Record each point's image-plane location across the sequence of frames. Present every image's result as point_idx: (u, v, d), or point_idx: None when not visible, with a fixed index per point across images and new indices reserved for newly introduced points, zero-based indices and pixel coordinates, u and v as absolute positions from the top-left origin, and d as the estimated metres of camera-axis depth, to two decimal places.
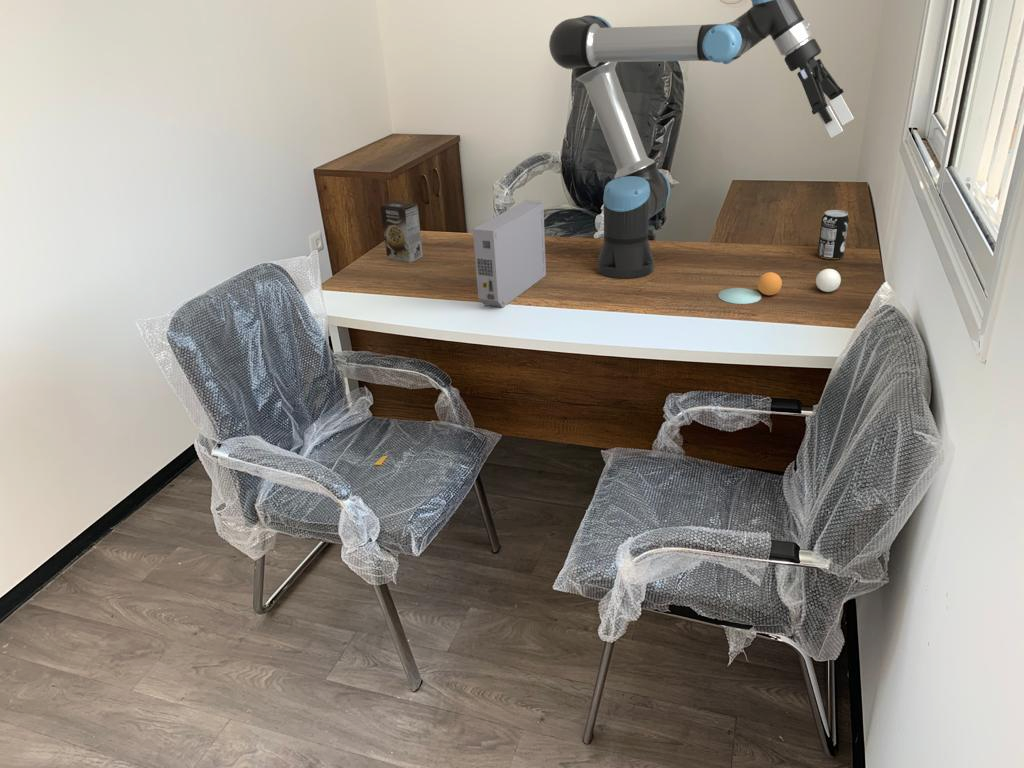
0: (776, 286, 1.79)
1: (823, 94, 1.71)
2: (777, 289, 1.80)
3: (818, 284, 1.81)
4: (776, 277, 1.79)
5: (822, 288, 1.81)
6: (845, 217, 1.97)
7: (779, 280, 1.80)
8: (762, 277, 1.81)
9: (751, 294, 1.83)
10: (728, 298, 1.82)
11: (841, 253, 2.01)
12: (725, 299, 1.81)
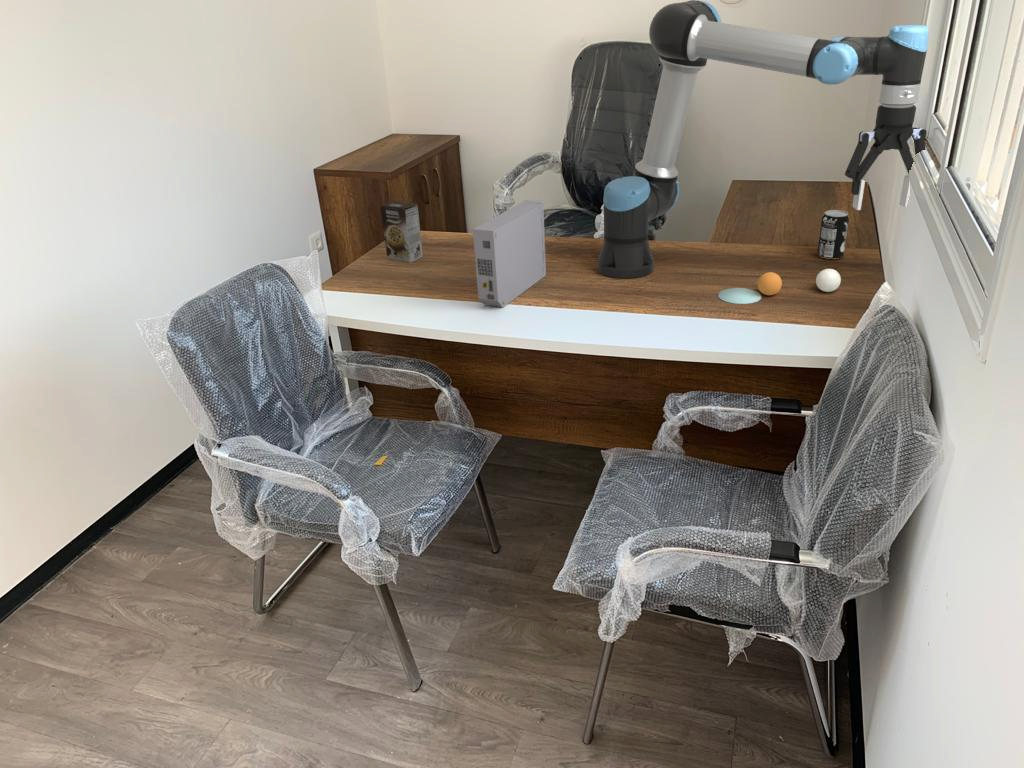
0: (776, 286, 1.79)
1: (868, 167, 1.68)
2: (777, 289, 1.80)
3: (818, 284, 1.81)
4: (776, 277, 1.79)
5: (822, 288, 1.81)
6: (845, 217, 1.97)
7: (779, 280, 1.80)
8: (762, 277, 1.81)
9: (751, 294, 1.83)
10: (728, 298, 1.82)
11: (841, 253, 2.01)
12: (725, 299, 1.81)
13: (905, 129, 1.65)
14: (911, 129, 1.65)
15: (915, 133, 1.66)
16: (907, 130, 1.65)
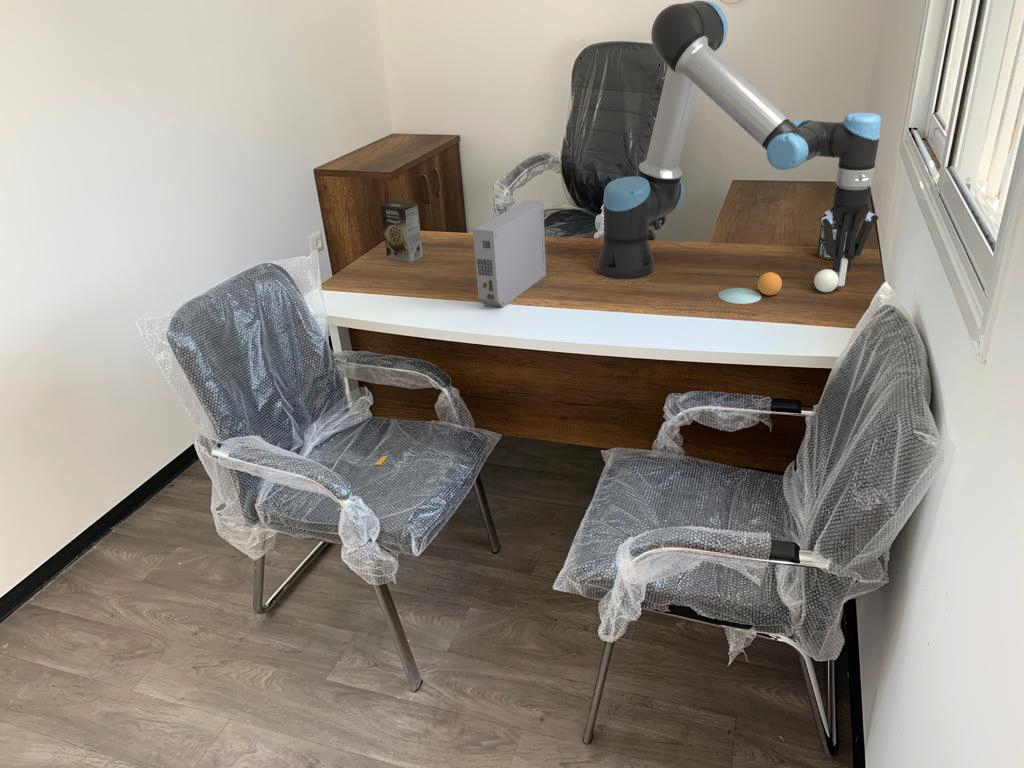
0: (776, 286, 1.79)
1: (842, 245, 1.77)
2: (777, 289, 1.80)
3: (816, 286, 1.82)
4: (776, 277, 1.79)
5: (821, 289, 1.81)
6: None
7: (779, 280, 1.80)
8: (762, 277, 1.81)
9: (751, 294, 1.83)
10: (728, 298, 1.82)
11: None
12: (725, 299, 1.81)
13: (863, 206, 1.73)
14: (868, 209, 1.73)
15: (868, 215, 1.74)
16: (864, 208, 1.73)
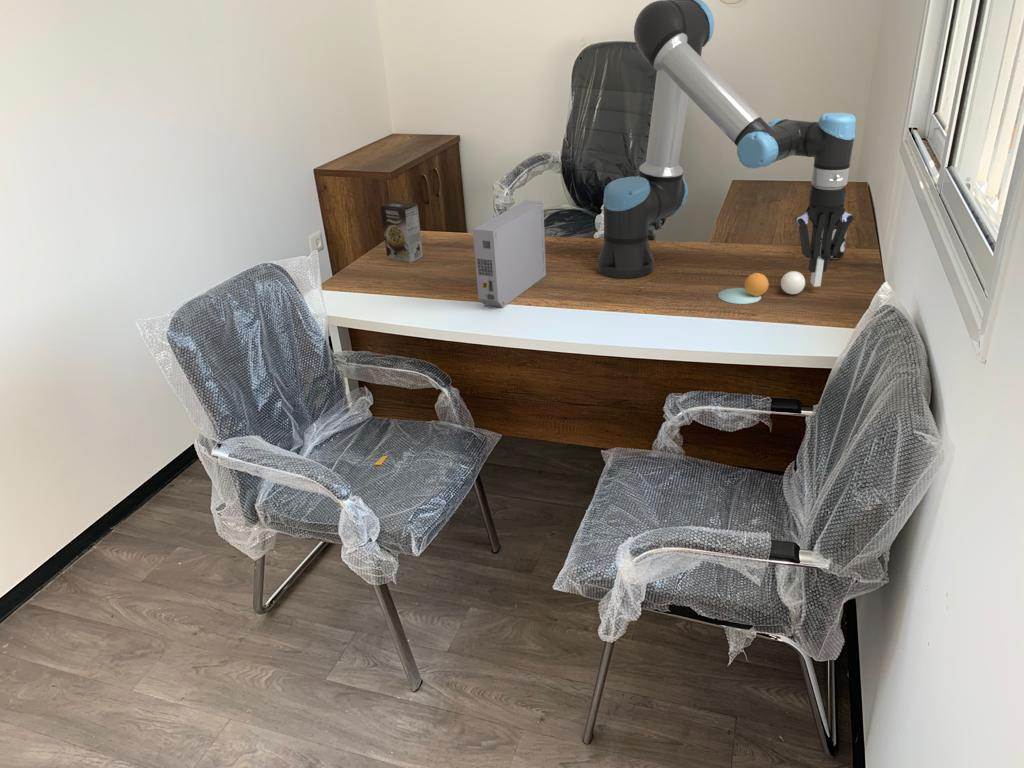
0: (760, 285, 1.79)
1: (818, 245, 1.76)
2: (764, 284, 1.79)
3: None
4: (752, 280, 1.80)
5: (804, 284, 1.80)
6: None
7: (757, 279, 1.79)
8: (746, 289, 1.82)
9: None
10: (728, 298, 1.82)
11: (841, 253, 2.01)
12: (725, 299, 1.81)
13: (839, 207, 1.72)
14: (843, 210, 1.73)
15: (844, 215, 1.74)
16: (840, 209, 1.72)
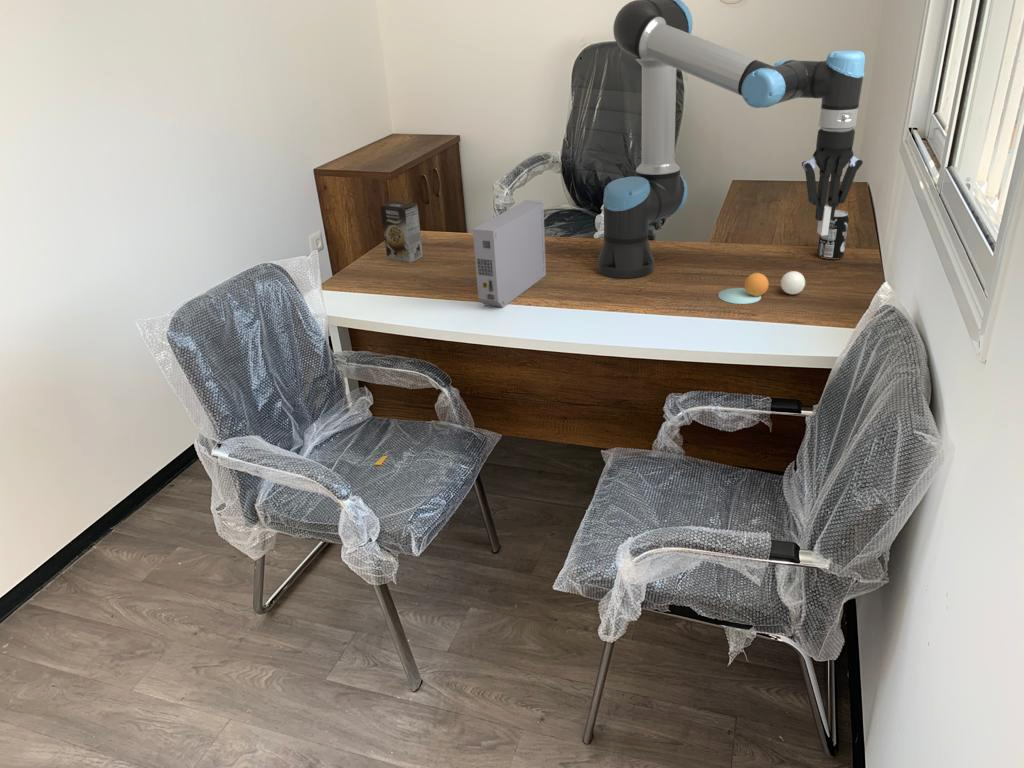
0: (760, 285, 1.79)
1: (825, 191, 1.70)
2: (764, 284, 1.79)
3: None
4: (752, 280, 1.80)
5: (804, 284, 1.80)
6: (845, 217, 1.97)
7: (757, 279, 1.79)
8: (746, 289, 1.82)
9: None
10: (728, 298, 1.82)
11: (841, 253, 2.01)
12: (725, 299, 1.81)
13: (847, 150, 1.66)
14: (852, 153, 1.67)
15: (852, 160, 1.68)
16: (848, 152, 1.67)
